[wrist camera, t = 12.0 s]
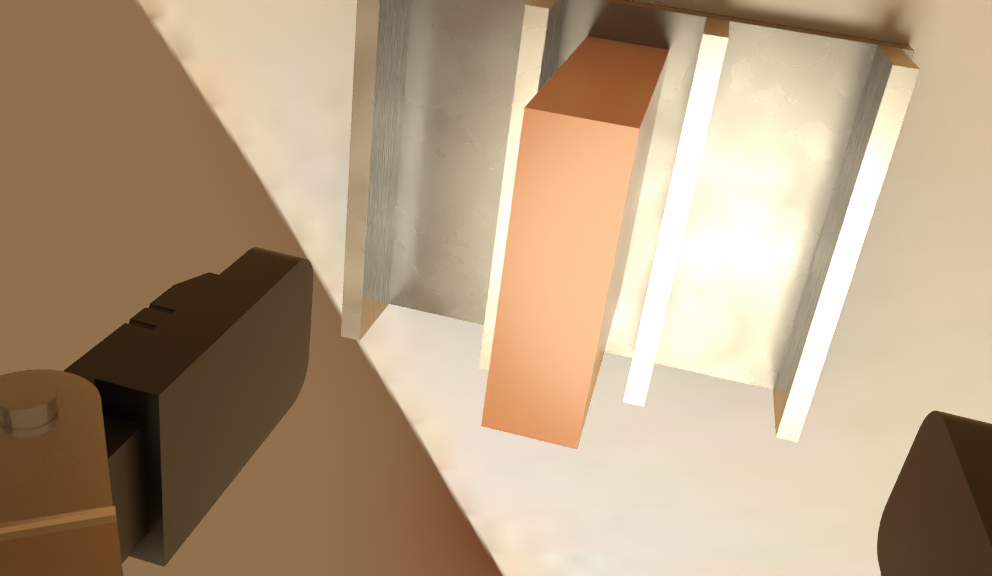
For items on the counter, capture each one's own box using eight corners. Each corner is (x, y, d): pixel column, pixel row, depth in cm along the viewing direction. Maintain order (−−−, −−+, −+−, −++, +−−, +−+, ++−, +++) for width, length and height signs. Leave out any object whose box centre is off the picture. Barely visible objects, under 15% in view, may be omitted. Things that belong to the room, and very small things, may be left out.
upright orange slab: (587, 36, 33) (523, 107, 23) (669, 49, 33) (639, 128, 23) (548, 280, 38) (481, 426, 28) (619, 296, 37) (577, 449, 27)
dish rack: (371, 288, 41) (331, 333, 37) (392, -38, 35) (347, -25, 31) (801, 383, 38) (808, 444, 34) (909, 45, 32) (933, 71, 28)
